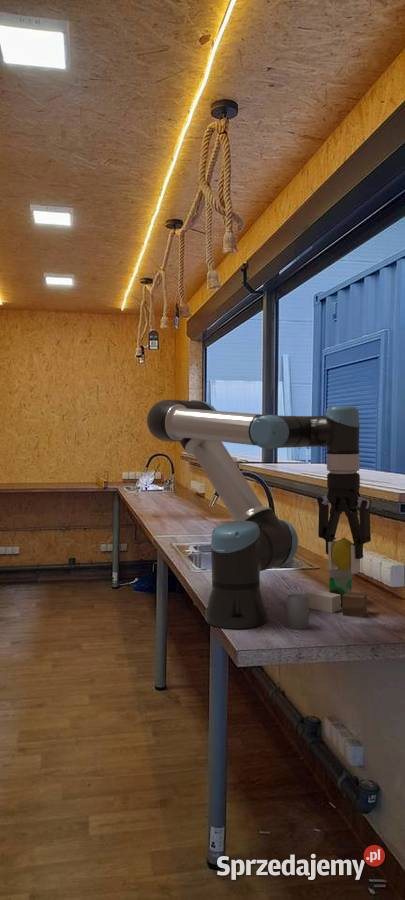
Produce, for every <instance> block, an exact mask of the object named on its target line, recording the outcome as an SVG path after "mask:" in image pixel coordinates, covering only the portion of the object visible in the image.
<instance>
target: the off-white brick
mask: <svg viewBox="0 0 405 900" xmlns="http://www.w3.org/2000/svg"><path fill="white" fill-rule="evenodd" d="M305 595H307V596H308V597H309V609H312V610H313V609H314V610H318V611H322V612H327V613H331V614H333V613H336V612H338V611H341V610H342V606H341V595H339V594H334V593H330V591H329V592H328V591H324V590H318V589H312V590H309V591H306V592H305Z"/></svg>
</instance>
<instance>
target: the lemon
mask: <svg viewBox="0 0 405 900" xmlns="http://www.w3.org/2000/svg"><path fill="white" fill-rule="evenodd" d="M336 541H337V542H336V543H335V544H334V546H333V550H332V559H333V562H334V564H335V565H336V566H337V567H338V568H340V569H341V570H342V571H344V572H345V571H346V570H347V569H349V568H351V545H353V544H352V543H353V542H352V541H350V540H349V539H347V538H346V537H342V538H340V539H339V540H336Z"/></svg>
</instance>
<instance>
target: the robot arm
mask: <svg viewBox="0 0 405 900" xmlns="http://www.w3.org/2000/svg"><path fill="white" fill-rule="evenodd" d="M146 425H147V428H148V430H149V433H150V434H151V435H152V436H153V437H154V438H155V439H157V440H160V441H163V442H171V443H172V442H179V443H180V445H181V446H182V448H183V450H184V451H185V453H186V454H188V455H191V456H192V455H193V456H194V458H195V459H196V461H197V463H198V464H199V466H200V467H201V469H202V471H203V473H204V474H205V476H206V477H207V478H208V480H209V482H210V483H211V485H212V487H213V488H214V490H215V493H217V495H218V497H219V498H220V500H221V502H222V503H223V505H224V506H225V509H227V511H228V513H229V514H230V516H231V517H232V519H233V521H229V522H228V521H227V522H224V523H221V524H219V525H216V526H215V527H214V528H213V529H212V533H211V541H210V550H211V551H210V553H211V583H212V584H211V592H210V594H209V598H208V603H207V607H206V608H205V612H204V613H205V622H206V624H207V623H208V624H209V625H211V626H214V627H217V628H222V629H237V630H238V629H239V630H240V629H250V628H256V627H259V626H262V625H265V624H267V622H268V619H269V618H268V617H269V615H268V613H269V612H268V609H267V607H266V605H265V601H264V597H263V594H262V591H261V582H260V581H261V580H260V579H261V578H260V577H261V572H262V571H266V570H271V569H274V568H278V567H279V568H280V567H282V566H283V565H285V564H287V563H289V562H291V560H292V559H293V558H294V557H295V556H296V554H297V551H298V545H299V538H298V537H299V536H298V534H297V531H296V529H295V527H294V526H293V525H292V524H291V523H290V522H288V521H287V520H285V519H279V517H278V516H277V515H276V513H275V512H274V509H272V508H271V507H267V506H264V505H263V503H262V502H261V501H260V499H259V498H258V496H257V494H256V493H255V491H254V490H253V488H252V486H251V485H250V483H249V482H248V480H247V479H246V477H245V475H244V474H243V473H242V471H241V469H240V468H239V466H238V465H237V463H236V462H235V460H234V458H233V457H232V456H231V454H230V452H229V451H228V450H227V449H228V448H226V446H225V445H224V443H229V444H231V443H232V444H239V445H247V446H256V447H259V448H262V449H267V450H275V449H281V448H282V449H283V448H284V449H285V448H286V449H287V448H290V449H291V448H314V447H315V448H316V447H317V448H319V447H321V448H326V471H328V472H329V473H328V472H327V474H326V476H327V477H326V486H327V489H328V491H327V494H326V495H324V496H318V497H317V498H316V501H317V504H318V526H317V527H318V528H317V529H318V530H317V533H318V534H317V535H318V538H320V539H323V540H324V541H325V554H326V555H327V559H328V563H327V564H328V565H327V566H328V570H329V569H330V570H332V569H336V568H338V567H337V566H336V565H335V564H334V562H333V559H332V550H333V546H334V544H335V543H336V542H337V541H338V540H336V539H337V538H336V533H337V530H338V524H339V522H340V517H341V514H342V513H344V514H345V517H347V520H348V526H349V528H350V533H351V537H352V541H353V542H352V544H353V545H351V573H353V574H354V573H355V574H357V573H360V572H361V559H363V558H364V545H365V544H367V543H371V541H372V536H371V535H372V533H371V531H372V530H371V517H370V516H371V514H370V510H371V506H372V500H371V499H366V498H363V497H362V496H361V493H360V487H361V479H360V478H361V474H359V471H360V427H361V424H360V413H359V409H358V408H357V407H356V406H349V405H347V406H346V405H343V406H342V405H341V406H340V405H339V406H329V407H327V408H326V413H325V415H279V414H278V415H275V414H263V413H262V414H260V413H248V412H234V411H220V410H217V409H216V408H215V407H214V405H213V404H211V403H209V402H206V401H202V400H197V399H192V400H181V399H180V400H179V399H163V400H159V401H158V402H156V403H155V404H153V406H152V407H151V408H150V409H149V411H148V413H147V418H146ZM329 504H330V505H329ZM329 506H330V507H329ZM357 506H358V507H359V510H358V508H357ZM358 515H359V517H358ZM355 574H354V575H355Z"/></svg>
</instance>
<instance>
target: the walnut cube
mask: <svg viewBox="0 0 405 900" xmlns="http://www.w3.org/2000/svg"><path fill="white" fill-rule="evenodd" d="M342 598H343V606H342V616H343V617H352V618H361V619H362V618H364V617H366V615H367V614H368V592H358V591H351V592H350V591H347V592H346V593H345V594H344V595H343V596H342Z"/></svg>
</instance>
